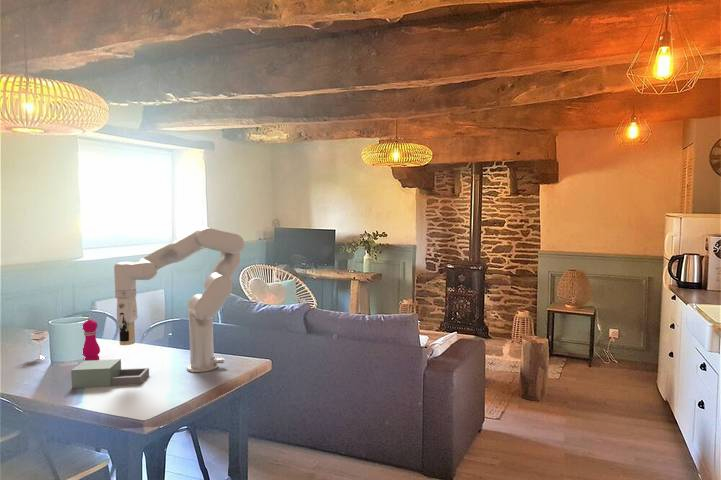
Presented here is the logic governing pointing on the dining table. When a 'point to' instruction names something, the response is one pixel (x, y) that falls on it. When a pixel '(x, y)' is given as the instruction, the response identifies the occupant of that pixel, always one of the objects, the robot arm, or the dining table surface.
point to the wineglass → (39, 340)
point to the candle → (131, 335)
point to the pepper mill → (90, 340)
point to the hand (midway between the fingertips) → (127, 338)
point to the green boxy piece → (106, 374)
